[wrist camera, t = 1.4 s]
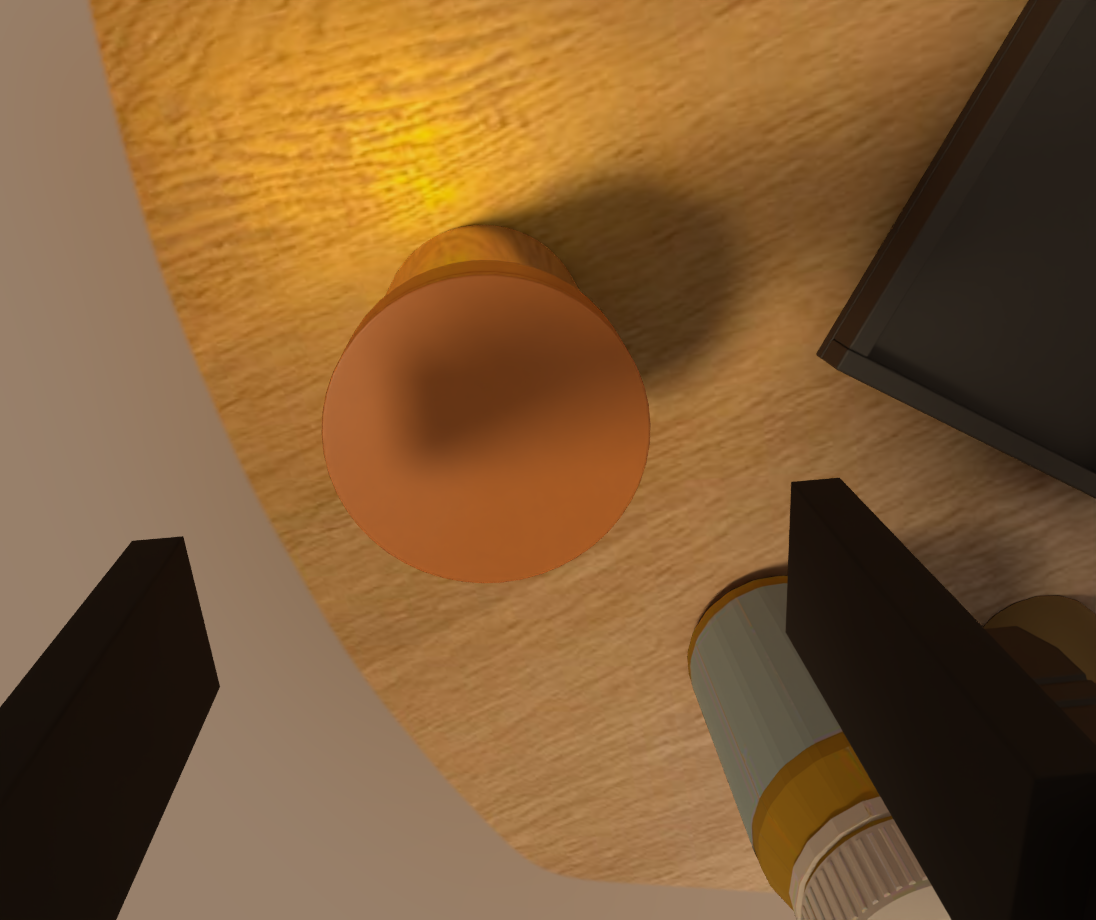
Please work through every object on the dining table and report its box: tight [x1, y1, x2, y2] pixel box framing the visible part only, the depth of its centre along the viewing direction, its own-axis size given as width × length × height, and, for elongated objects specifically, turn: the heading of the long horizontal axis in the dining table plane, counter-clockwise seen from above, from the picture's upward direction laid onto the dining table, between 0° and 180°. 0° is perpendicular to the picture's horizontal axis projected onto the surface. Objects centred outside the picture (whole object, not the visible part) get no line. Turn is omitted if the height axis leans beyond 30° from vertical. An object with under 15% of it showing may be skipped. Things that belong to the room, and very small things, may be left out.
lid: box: [322, 260, 650, 583], centre depth 22 cm, size 8×8×2 cm
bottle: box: [687, 576, 951, 920], centre depth 30 cm, size 7×7×15 cm
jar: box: [385, 225, 580, 296], centre depth 26 cm, size 7×7×11 cm
